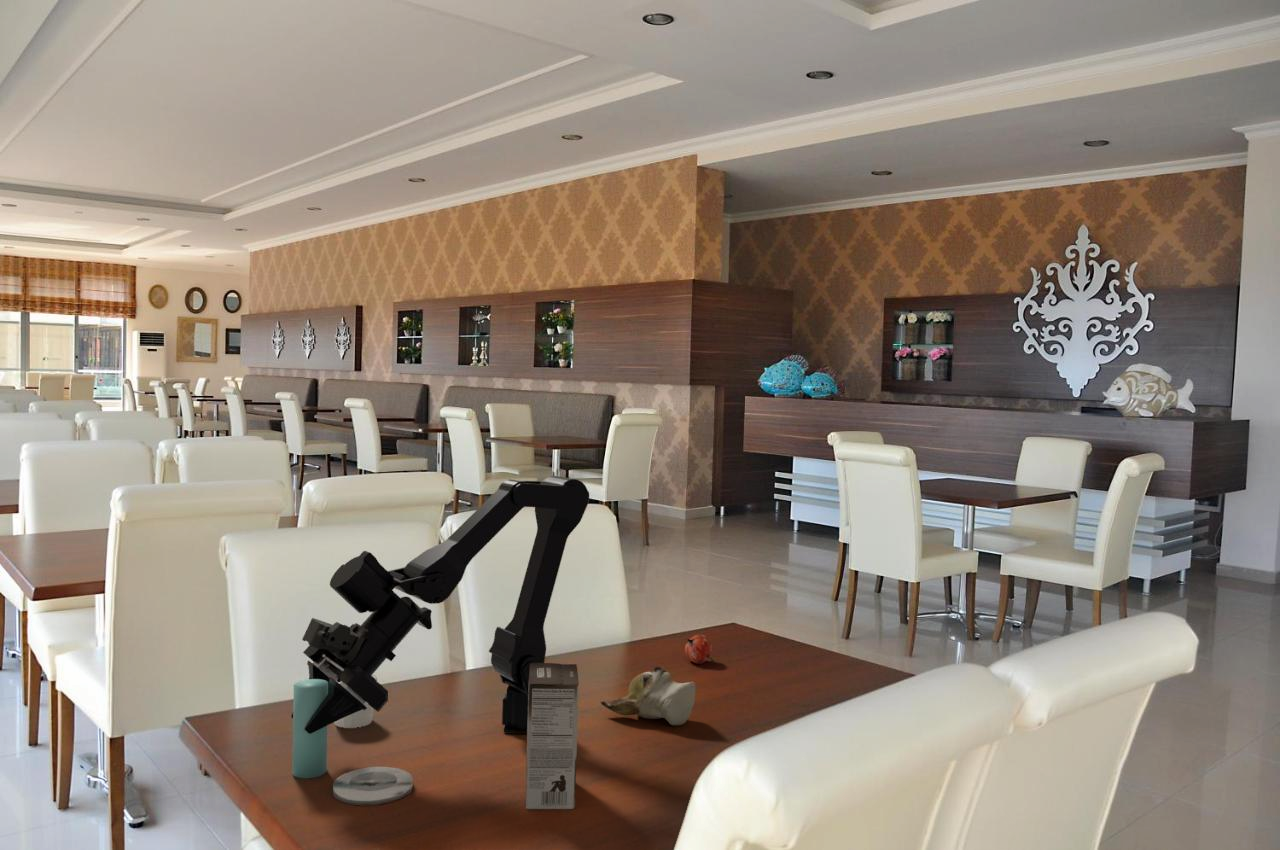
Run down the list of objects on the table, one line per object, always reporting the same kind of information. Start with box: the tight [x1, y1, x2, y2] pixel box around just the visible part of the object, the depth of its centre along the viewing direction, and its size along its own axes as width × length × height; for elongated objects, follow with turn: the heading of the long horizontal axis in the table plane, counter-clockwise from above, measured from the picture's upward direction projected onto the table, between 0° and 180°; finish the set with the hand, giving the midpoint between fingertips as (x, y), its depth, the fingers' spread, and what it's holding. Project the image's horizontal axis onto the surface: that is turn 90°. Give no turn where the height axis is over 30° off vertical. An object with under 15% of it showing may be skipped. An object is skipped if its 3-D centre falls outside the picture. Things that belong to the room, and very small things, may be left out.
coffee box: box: [525, 662, 580, 810], centre depth 127 cm, size 9×6×16 cm
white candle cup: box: [333, 673, 378, 729], centre depth 153 cm, size 7×7×7 cm
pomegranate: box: [684, 634, 714, 665], centre depth 192 cm, size 6×6×8 cm
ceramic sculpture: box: [600, 666, 696, 726], centre depth 159 cm, size 11×9×15 cm
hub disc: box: [332, 766, 414, 806], centre depth 128 cm, size 10×10×1 cm
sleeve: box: [291, 678, 328, 779], centre depth 132 cm, size 4×4×12 cm
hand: (299, 725), depth 132 cm, fingers open, 5 cm apart
